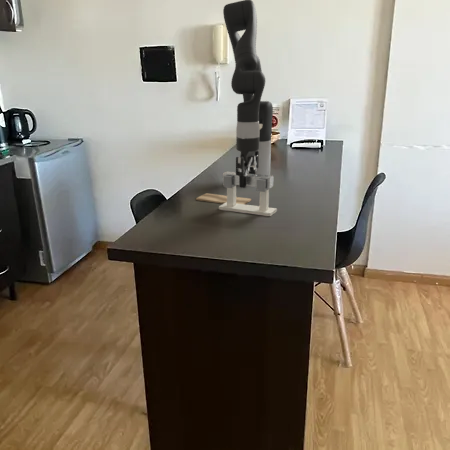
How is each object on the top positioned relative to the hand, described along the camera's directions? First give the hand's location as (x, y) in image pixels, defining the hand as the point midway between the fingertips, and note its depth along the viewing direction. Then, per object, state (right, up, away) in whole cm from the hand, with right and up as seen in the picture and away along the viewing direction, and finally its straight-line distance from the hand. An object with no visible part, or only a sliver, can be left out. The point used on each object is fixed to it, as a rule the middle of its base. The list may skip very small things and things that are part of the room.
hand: (247, 184), depth 152 cm
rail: (0, 0, 0) cm, 0 cm away
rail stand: (0, -9, +3) cm, 9 cm away
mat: (-8, -4, +15) cm, 18 cm away
